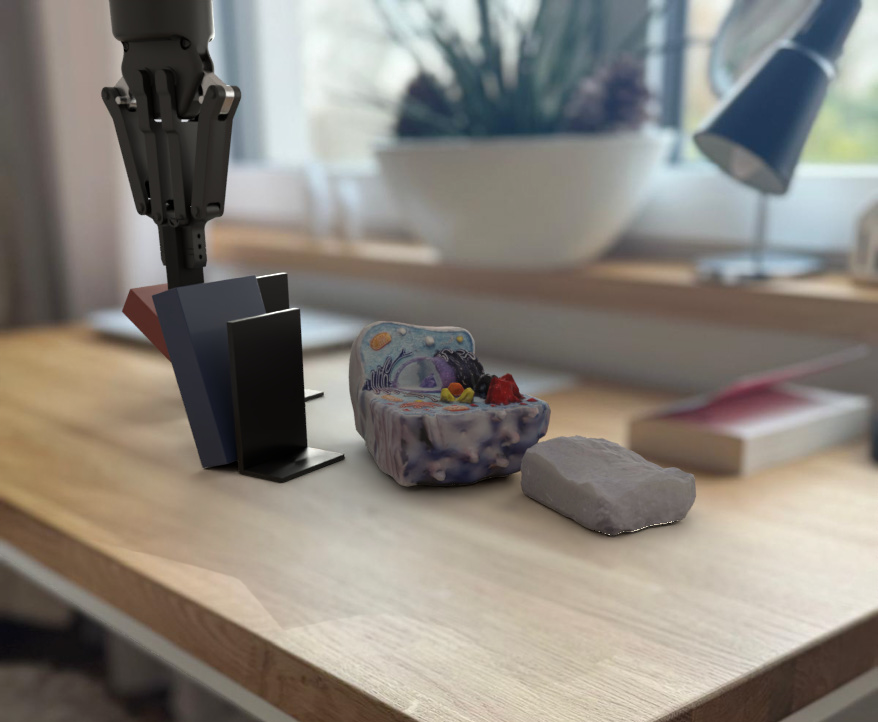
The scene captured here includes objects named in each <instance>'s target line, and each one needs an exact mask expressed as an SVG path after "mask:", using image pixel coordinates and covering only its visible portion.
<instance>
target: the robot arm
mask: <svg viewBox="0 0 878 722" xmlns="http://www.w3.org/2000/svg"><path fill="white" fill-rule="evenodd" d="M213 4H214V3H213V0H108V6H109V15H110V26H111V32H112V36H113V38H114V39H115V40H117V41H118V42H120V43H121V45H122V49H123V55H122V60H121V65H120V71H121V75H122V76H121V77H120V79H119V80H117V82H116V83H115V85H114V86H103V87H102V89H101V90H100V91H101V92H100V96H101V100H102V102H103V103H104V105H105V107H106V109H107V111H108V113H109V115H110V117H111V118H112V122H113V127H114V129H115V133H116V134H115V135H116V137H117V142H118V144H119V149H120V152H121V157H122V161H123V164H124V169H125V172H126V175H127V178H128V183H129V187H130V191H131V195H132V199H133V202H134V207H135V210H136V212H137V214H138V215H140V216H147V217H148V218H150V219H152V221H153V222H154V224H155V225H156V227H157V231H158V232H157V233H158V243H159V251H160V253H159V254H160V261H161V263H162V266H164V267H165V271H166V272H165V273H166V283H167V284H168V290H170V289H173V288H176V287H182V286H188V285H194V284H201V283H205V274H204V268H206V267H207V262H208V255H207V243H206V224H207V223H208V222H209V221H211V220H213V219H217V218H221V217H222V216H223V215H224V213H225V205H226V196H227V195H226V194H227V184H228V174H229V163H230V155H231V153H230V152H231V144H232V133H233V123H234V119H235V116H236V112H237V110H238V107H239V106H240V102H241V100H242V91H241V89H240V87H239V86H237V85H230V84H229V85H228V84H226V83H225V82H224V81H223V80H222V79H221V78H219V77H218V75H216V74H215V73H216V71H215V70H216V69H215V68H216V67H215V62H214V61H213V59H212V56H211V54H210V50H209V43H211V42H213V41H214V39H215V37H216V32H215V30H216V29H215V19H214V18H215V17H214V5H213ZM157 120H159V121H157Z"/></svg>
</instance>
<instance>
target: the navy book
mask: <svg viewBox="0 0 878 722" xmlns="http://www.w3.org/2000/svg"><path fill="white" fill-rule="evenodd" d="M256 277H257V275H256V274H250V275H245V276H239V277H232V278H227V279H226V278H225V279H221V280H220V279H219V280H215V281H213V280H212V281H207V282H204V283H201V284H194V285H188V286H182V287H176V288H173V289H170V290H167V291H164V292H161V293H158V294H154V295H152V299H153V303H154V306H155V309H156V313H157V316H158V320H159V323H160V326H161V330H162V333H163V336H164V340H165V343H166V347H167V350H168V353H169V357H170V360H171V362H170V363H171V367H172V370H173V374H174V377H175V380H176V384H177V387H178V390H179V395H180V396H181V401H182V403H183V407H184V411H185V413H186V417H187V421H188V423H189V428H190V431H191V435H192V437H193V440H194V441H193V442H194V444H195V448H196V452H197V454H198V457H199V461H200V464H201V468H202V469H207V468H212V467H218V466H224V465H228V464H231V463H234V462H238V460H237V447H236V435H235V422H234V410H233V397H232V385H231V373H230V360H229V348H228V335H227V322H228V321H233V320H238V319H243V318H248V317H253V316H258V315H263V314H266V312H265V308H264V304H263V301H262V297H261V293H260V289H259V286H258V282H257V278H256Z"/></svg>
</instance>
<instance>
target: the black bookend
mask: <svg viewBox="0 0 878 722" xmlns="http://www.w3.org/2000/svg"><path fill="white" fill-rule="evenodd" d="M288 275H289V273H287V272H279V273H273V274H265V275H261V276H256V278H257V282H258V286H259V289H260V293H261V297H262V301H263V304H264V308H265V312H266V314H268V313H273V312H278V311H283V310H287V309H291V308H290V293H289V276H288ZM304 390H305V402H307V401H310V400H314V399H318V398H320V397H324V396H325V391H321V390H316V389H315V390H314V389H308V388H304Z"/></svg>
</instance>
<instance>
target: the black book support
mask: <svg viewBox="0 0 878 722" xmlns="http://www.w3.org/2000/svg"><path fill="white" fill-rule="evenodd" d="M301 316H302V315H301V308H299V307H292V308H290V309H287V310H283V311H278V312H273V313H268V314H263V315H258V316H253V317H248V318H243V319H238V320H233V321H228V322H227V335H228V348H229V360H230V373H231V385H232V397H233V410H234V422H235V435H236V447H237V471H238V474H239V475H244V476H249V477H252V478H257V479H262V480H267V481H271V482H275V483H279V484H280V483H281V484H282V483H285V482H287V481H291V480H293V479H296V478H298V477H300V476H303V475H306V474H308V473H311V472H313V471H317V470H319V469H321V468H324V467H327V466H329V465H332V464H334V463H337V462H339V461H342V460H344V459H346V454H345V453H341V452H335V451H332V450H331V451H330V450H325V449H320V448H315V447H309V446H308V431H307V429H308V428H307V412H306V411H307V409H306V401H305V390H304V389H305V374H304V372H305V371H304V356H303V355H304V353H303V338H302V319H301V318H302V317H301Z"/></svg>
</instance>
